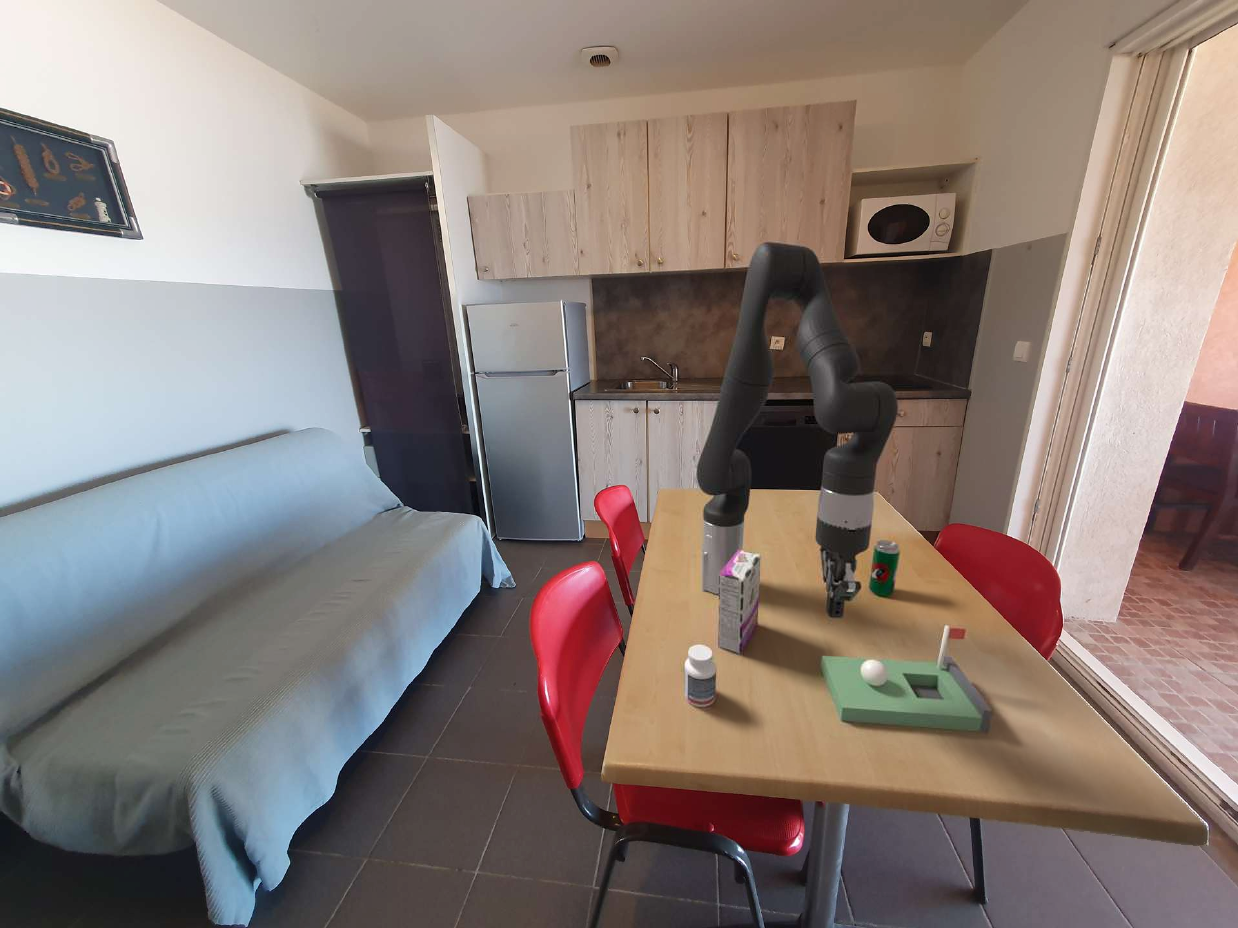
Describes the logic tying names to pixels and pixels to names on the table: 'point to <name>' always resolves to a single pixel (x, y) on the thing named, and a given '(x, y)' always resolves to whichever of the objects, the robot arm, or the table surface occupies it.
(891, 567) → the soda can
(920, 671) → the green
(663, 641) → the table surface
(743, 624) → the candy bar box
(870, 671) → the ball
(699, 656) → the pill bottle
